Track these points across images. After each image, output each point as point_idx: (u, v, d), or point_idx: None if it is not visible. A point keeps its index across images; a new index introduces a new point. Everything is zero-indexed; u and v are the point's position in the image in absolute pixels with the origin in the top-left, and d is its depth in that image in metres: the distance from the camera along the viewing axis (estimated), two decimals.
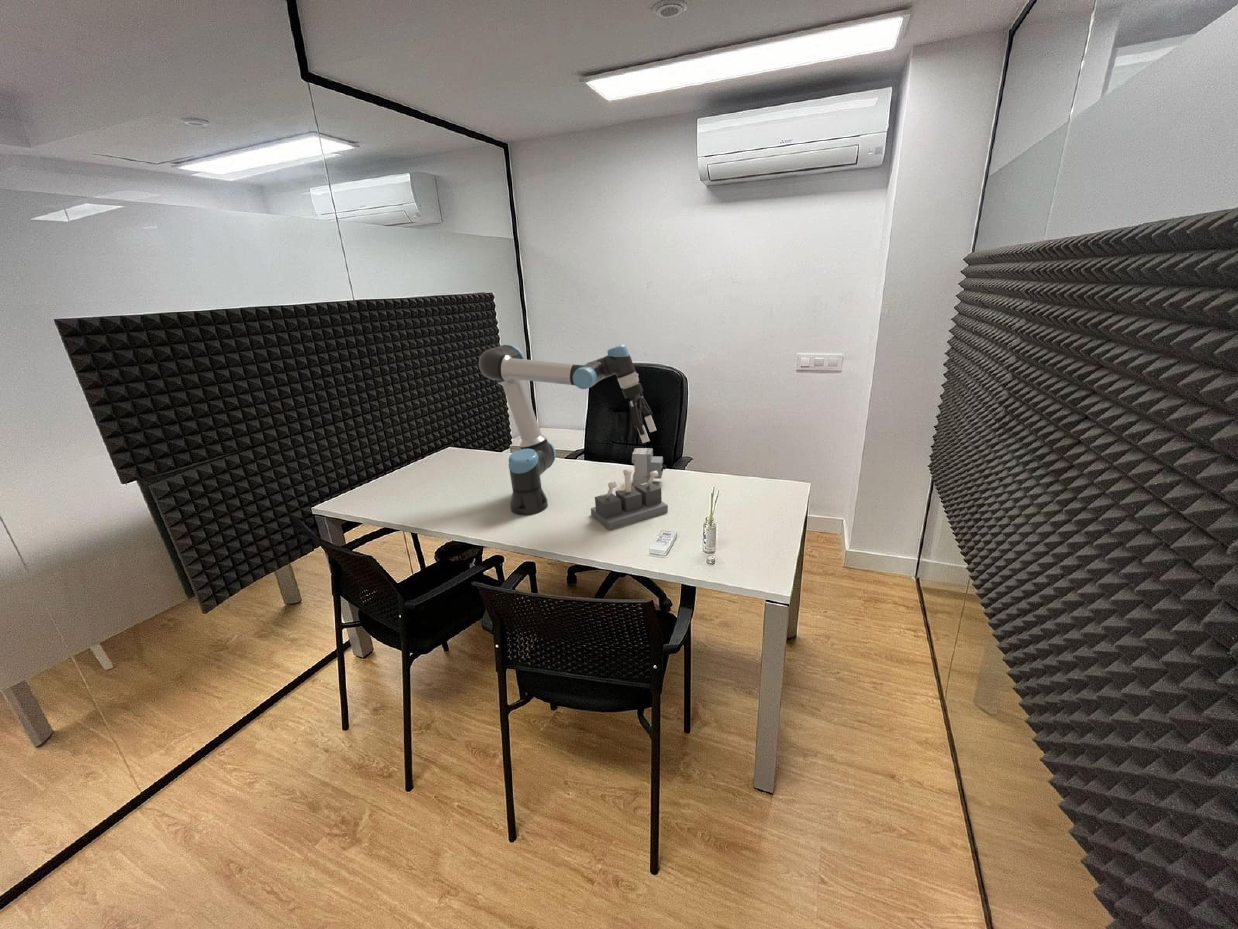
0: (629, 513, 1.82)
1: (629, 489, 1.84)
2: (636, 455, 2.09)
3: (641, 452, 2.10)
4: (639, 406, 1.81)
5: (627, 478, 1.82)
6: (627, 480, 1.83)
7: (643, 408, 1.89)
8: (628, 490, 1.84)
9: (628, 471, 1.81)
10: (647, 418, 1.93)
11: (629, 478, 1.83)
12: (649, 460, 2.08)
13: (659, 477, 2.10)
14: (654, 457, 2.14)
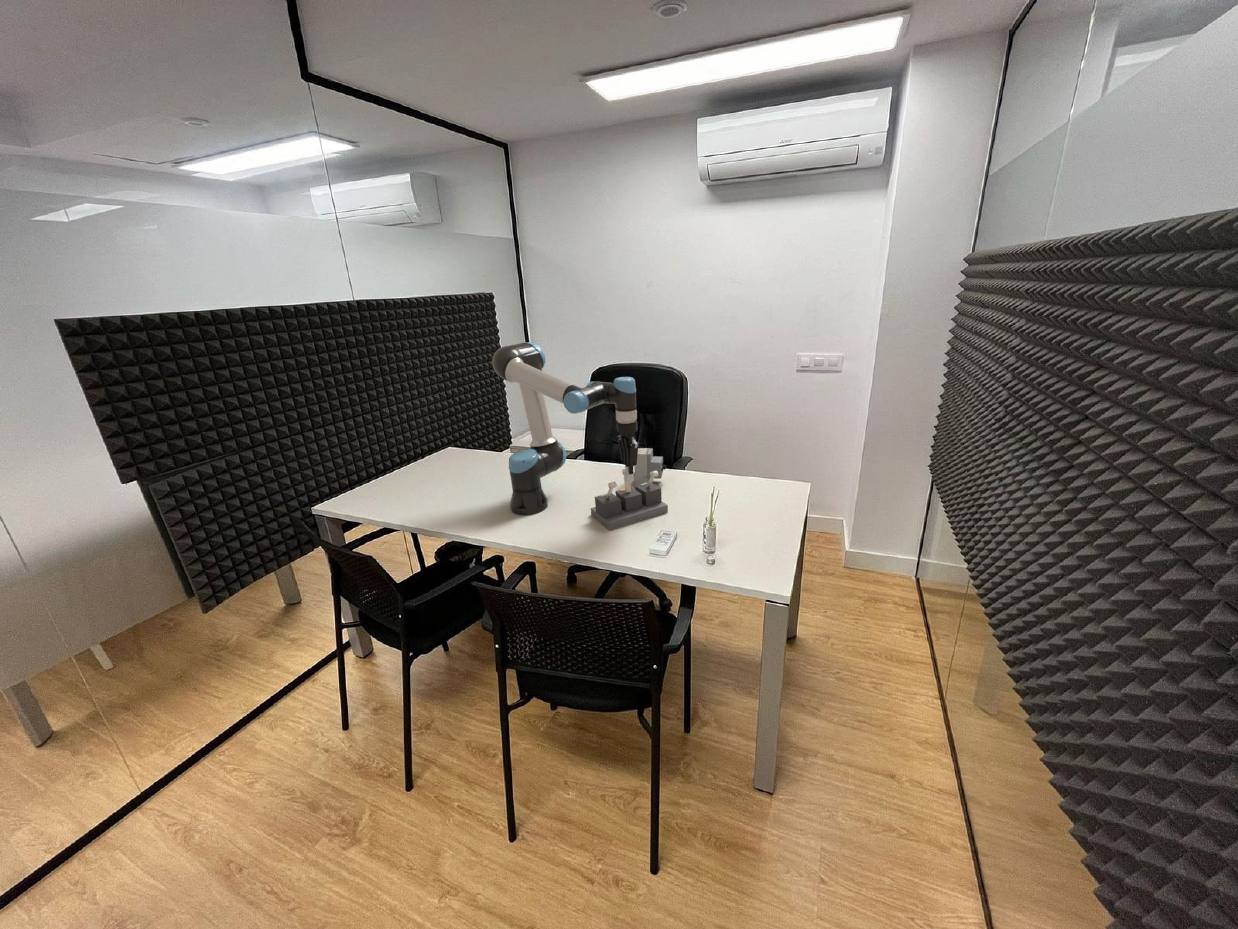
0: (629, 513, 1.82)
1: (629, 489, 1.84)
2: None
3: (641, 452, 2.10)
4: None
5: None
6: None
7: None
8: (628, 490, 1.84)
9: None
10: None
11: None
12: (649, 460, 2.08)
13: (659, 477, 2.10)
14: (654, 457, 2.14)
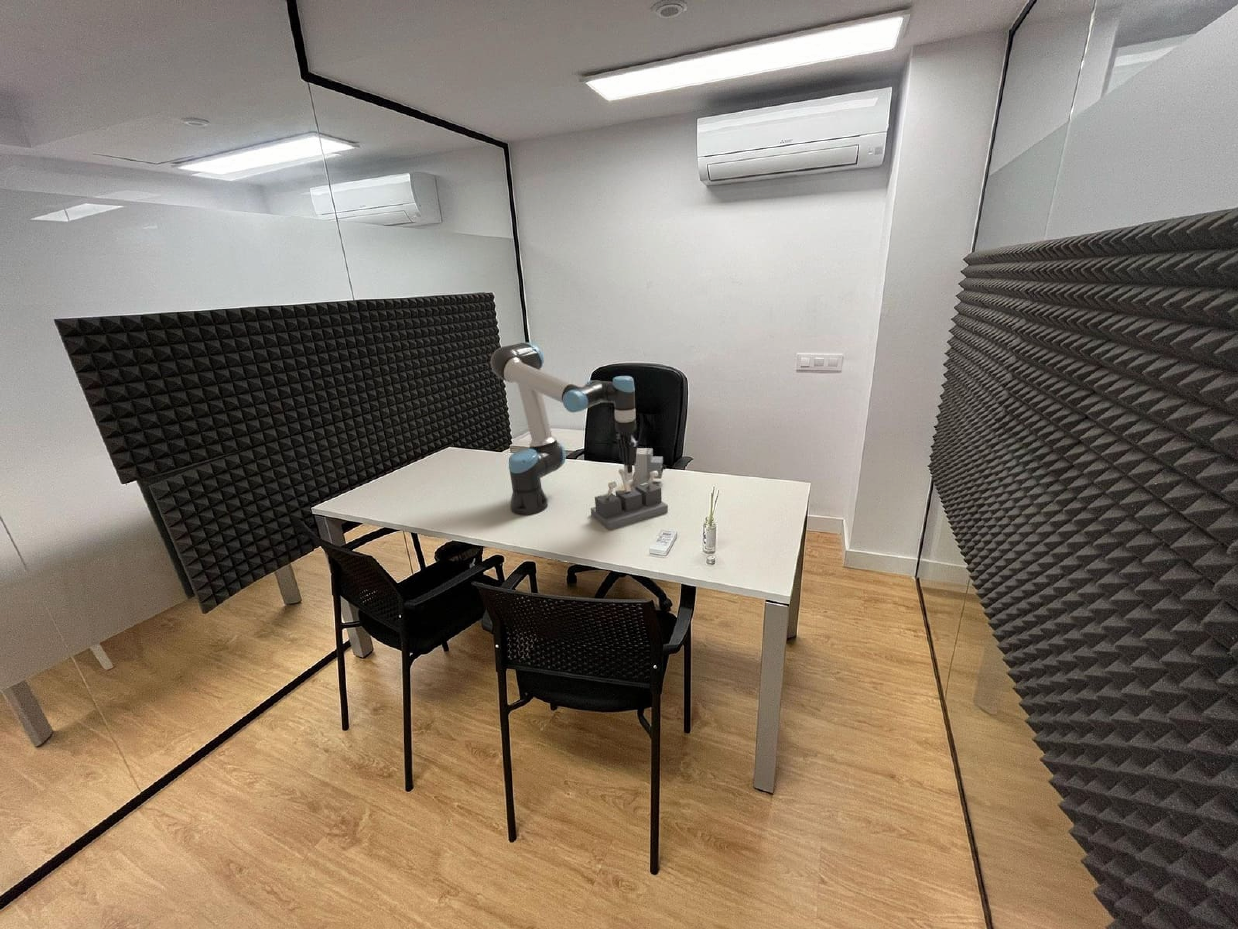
0: (629, 513, 1.82)
1: (628, 488, 1.85)
2: (636, 455, 2.09)
3: (641, 452, 2.10)
4: None
5: (624, 477, 1.85)
6: (624, 479, 1.85)
7: None
8: (627, 489, 1.85)
9: (623, 469, 1.85)
10: None
11: None
12: (649, 460, 2.08)
13: (659, 477, 2.10)
14: (654, 457, 2.14)
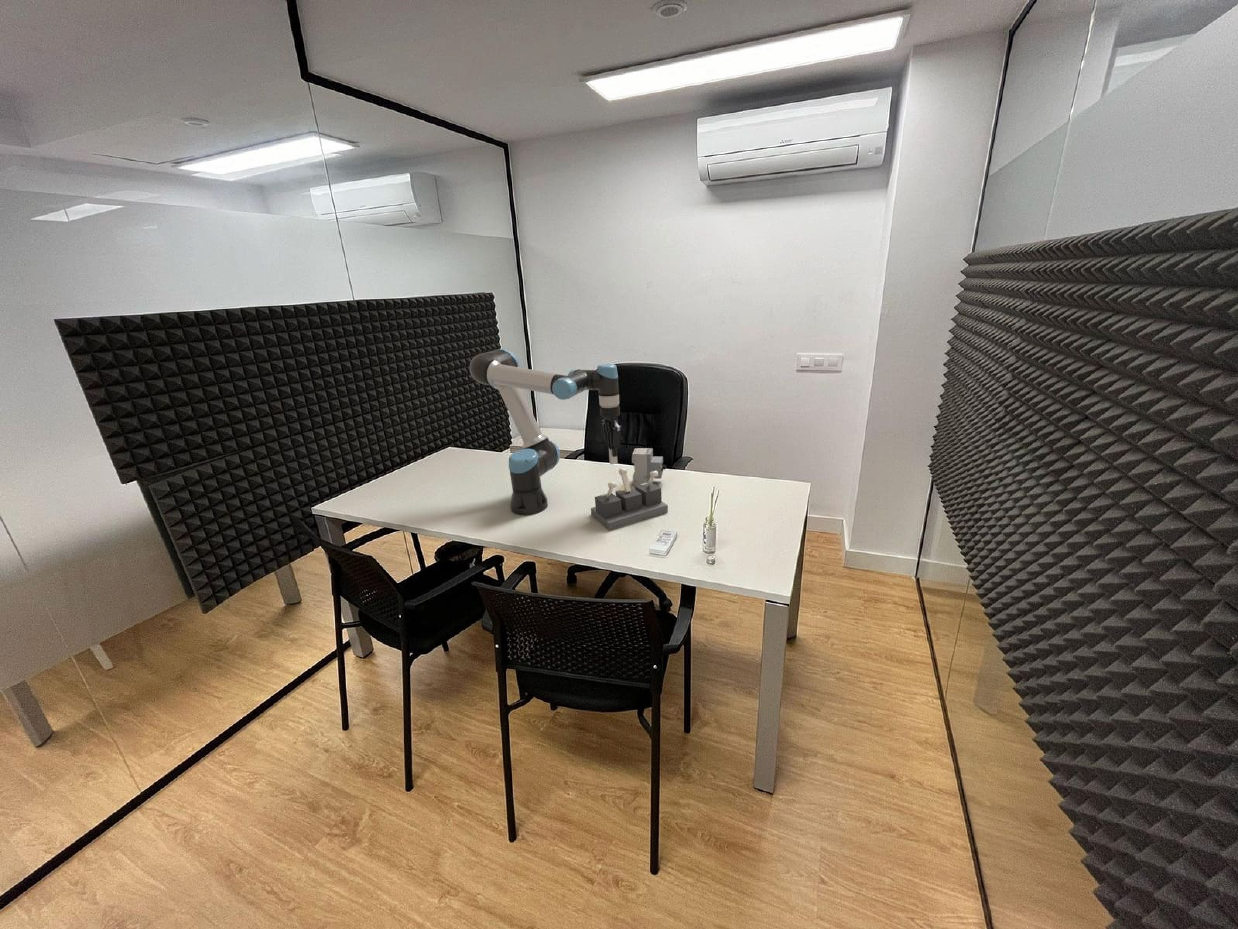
0: (629, 513, 1.82)
1: (628, 488, 1.85)
2: (636, 455, 2.09)
3: (641, 452, 2.10)
4: None
5: (624, 477, 1.85)
6: (624, 479, 1.85)
7: None
8: (627, 489, 1.85)
9: (623, 469, 1.85)
10: None
11: (626, 477, 1.85)
12: (649, 460, 2.08)
13: (659, 477, 2.10)
14: (654, 457, 2.14)
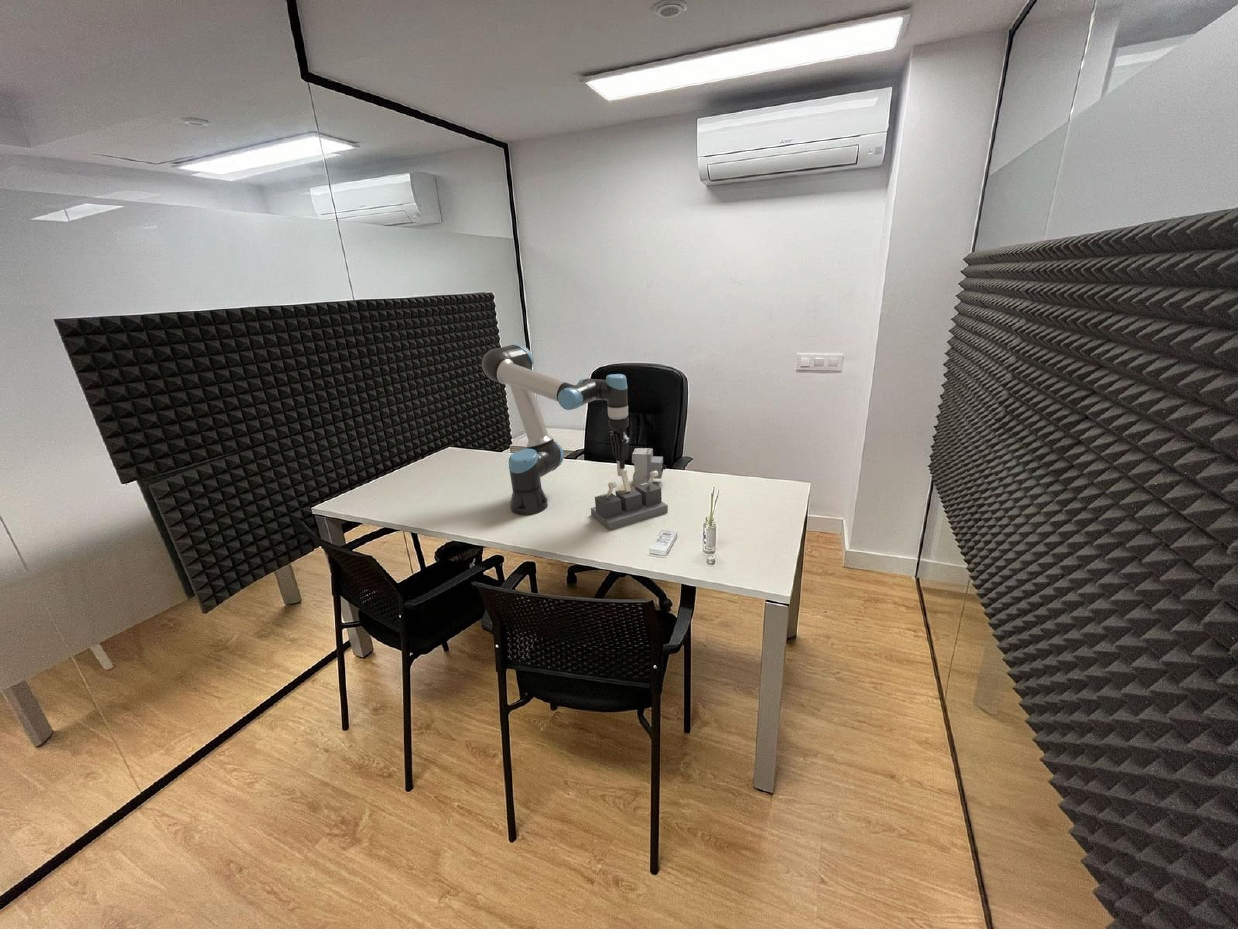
0: (629, 513, 1.82)
1: (628, 488, 1.85)
2: (636, 455, 2.09)
3: (641, 452, 2.10)
4: None
5: (624, 477, 1.85)
6: (624, 479, 1.85)
7: None
8: (627, 489, 1.85)
9: (623, 469, 1.85)
10: None
11: (626, 477, 1.85)
12: (649, 460, 2.08)
13: (659, 477, 2.10)
14: (654, 457, 2.14)
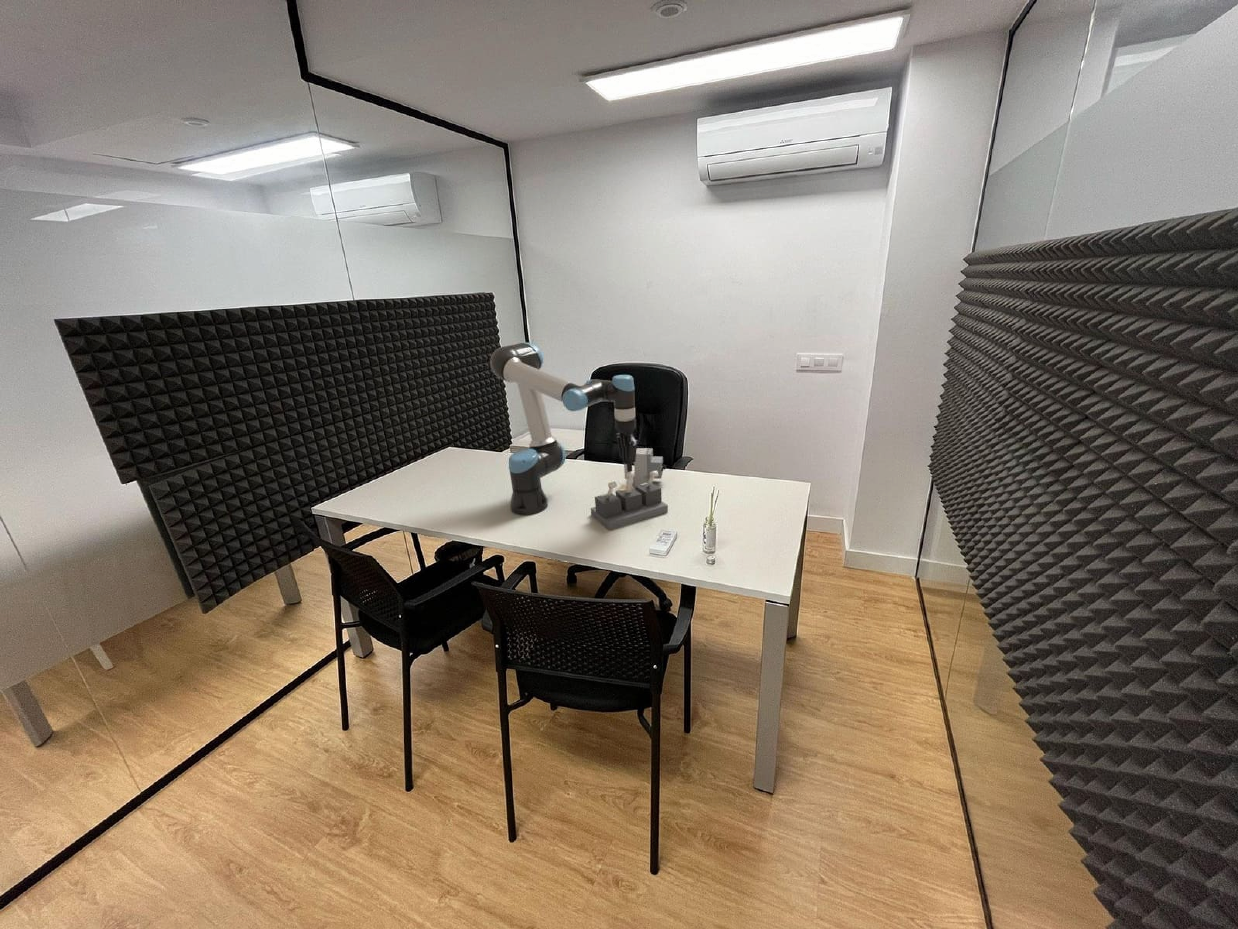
0: (629, 513, 1.82)
1: (629, 490, 1.84)
2: (636, 455, 2.09)
3: (641, 452, 2.10)
4: None
5: (629, 480, 1.81)
6: (629, 482, 1.82)
7: None
8: (628, 491, 1.84)
9: (631, 474, 1.80)
10: None
11: (631, 480, 1.82)
12: (649, 460, 2.08)
13: (659, 477, 2.10)
14: (654, 457, 2.14)
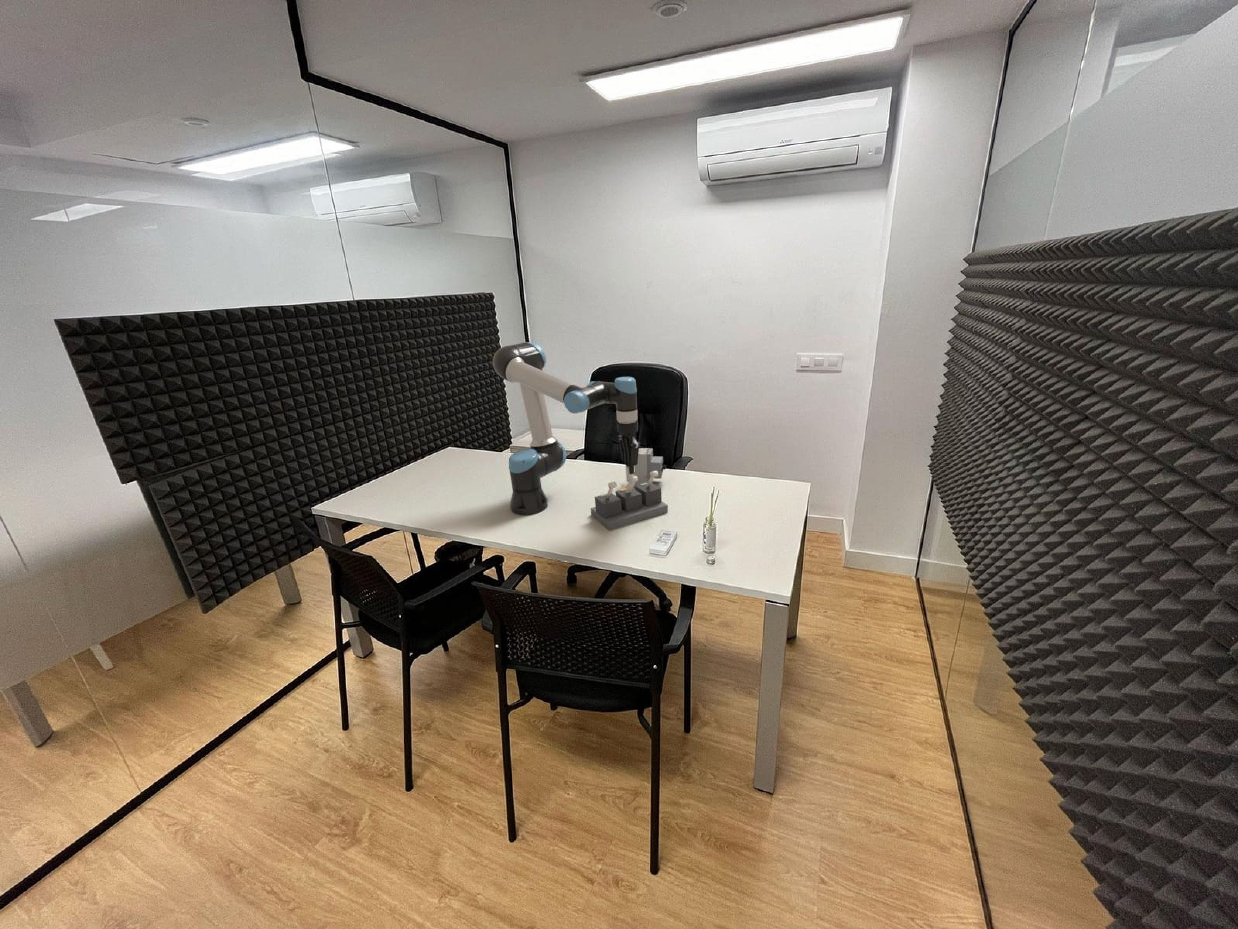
0: (629, 513, 1.82)
1: (630, 491, 1.84)
2: None
3: (641, 452, 2.10)
4: None
5: (631, 484, 1.80)
6: (631, 485, 1.81)
7: None
8: (628, 491, 1.84)
9: (635, 480, 1.78)
10: None
11: (633, 484, 1.81)
12: (649, 460, 2.08)
13: (659, 477, 2.10)
14: (654, 457, 2.14)
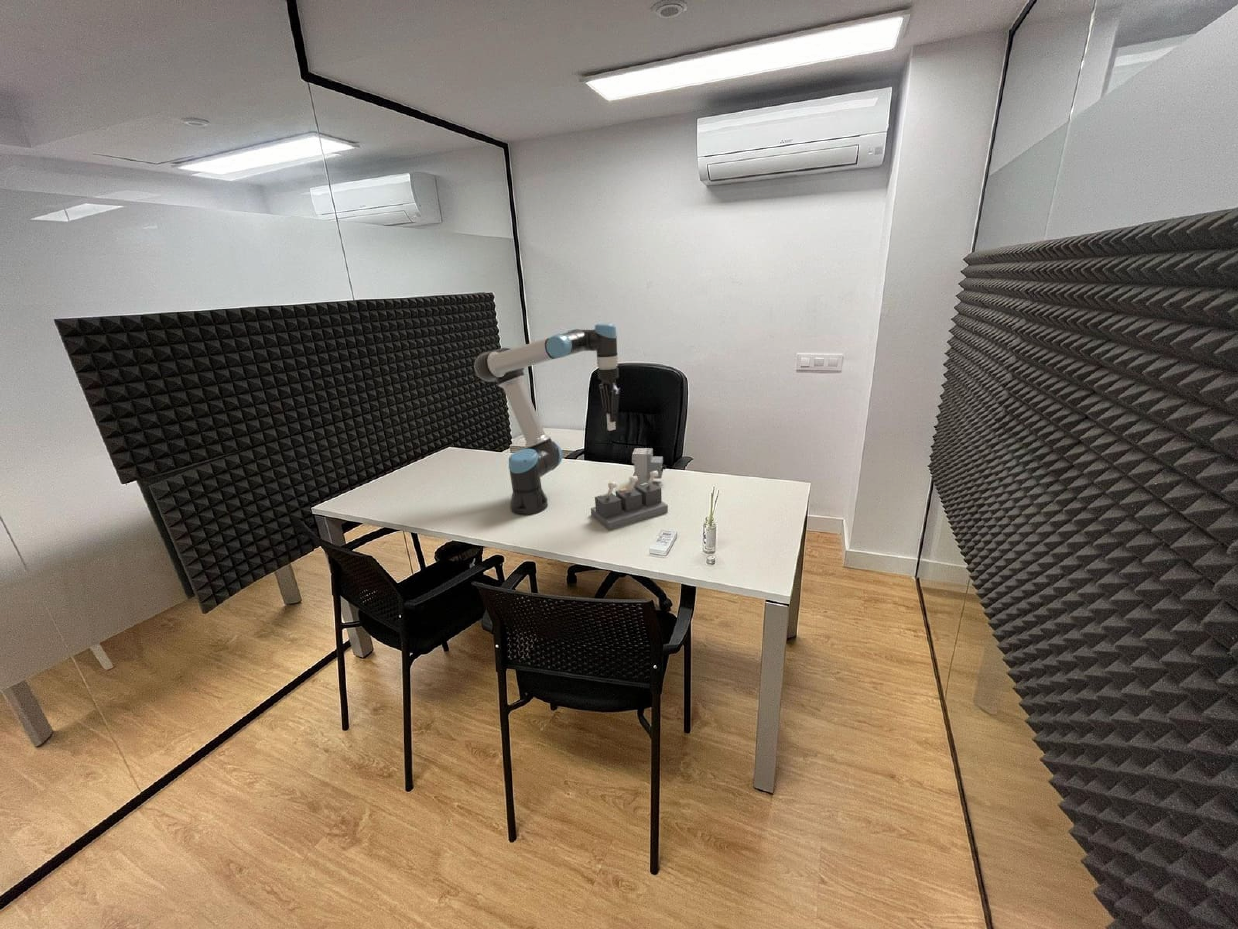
0: (629, 513, 1.82)
1: (630, 491, 1.84)
2: (636, 455, 2.09)
3: (641, 452, 2.10)
4: None
5: (631, 484, 1.80)
6: (631, 485, 1.81)
7: None
8: (628, 491, 1.84)
9: (635, 480, 1.78)
10: None
11: (633, 484, 1.81)
12: (649, 460, 2.08)
13: (659, 477, 2.10)
14: (654, 457, 2.14)
